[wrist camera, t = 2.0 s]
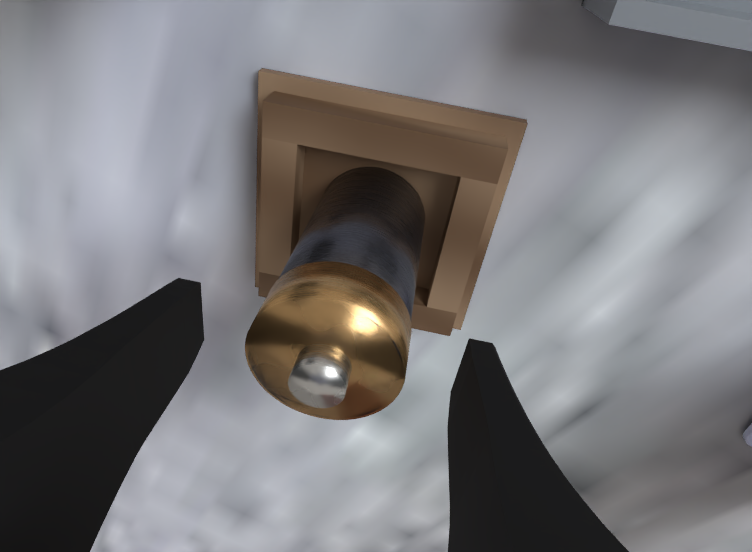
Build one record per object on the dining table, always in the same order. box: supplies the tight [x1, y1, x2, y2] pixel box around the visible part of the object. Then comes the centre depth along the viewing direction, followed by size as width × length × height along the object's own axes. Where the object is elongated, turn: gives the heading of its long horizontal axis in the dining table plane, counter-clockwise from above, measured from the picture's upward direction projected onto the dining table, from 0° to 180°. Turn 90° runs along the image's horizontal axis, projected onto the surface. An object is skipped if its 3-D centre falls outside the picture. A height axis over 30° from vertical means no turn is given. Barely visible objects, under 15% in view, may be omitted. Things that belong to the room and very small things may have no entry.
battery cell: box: [245, 167, 425, 420], centre depth 16 cm, size 4×4×9 cm
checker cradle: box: [255, 68, 528, 336], centre depth 19 cm, size 9×9×2 cm
